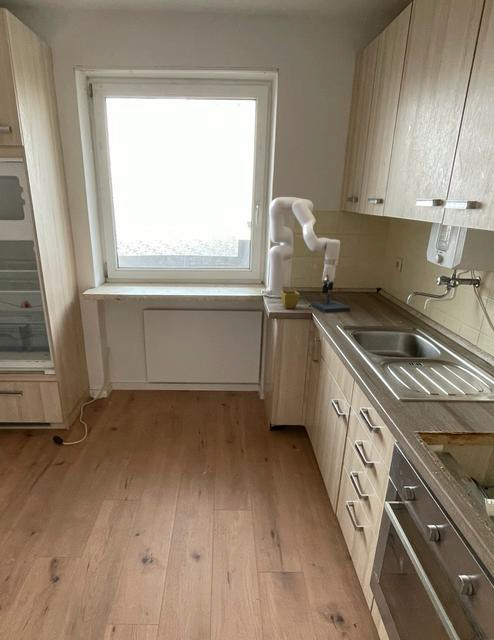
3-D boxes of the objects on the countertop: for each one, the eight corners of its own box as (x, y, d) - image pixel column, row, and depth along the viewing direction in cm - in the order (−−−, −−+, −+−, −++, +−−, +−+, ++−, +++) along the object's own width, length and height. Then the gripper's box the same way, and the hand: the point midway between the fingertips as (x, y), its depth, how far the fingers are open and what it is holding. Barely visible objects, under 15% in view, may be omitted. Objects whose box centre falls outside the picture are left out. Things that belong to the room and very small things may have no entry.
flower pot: (293, 305, 248) (295, 290, 245) (298, 309, 240) (299, 293, 237) (279, 305, 247) (280, 290, 243) (284, 309, 239) (285, 294, 235)
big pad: (324, 312, 234) (325, 309, 233) (311, 305, 248) (311, 302, 247) (349, 310, 238) (350, 307, 237) (335, 303, 252) (335, 300, 252)
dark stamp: (324, 308, 243) (326, 294, 240) (319, 305, 249) (320, 292, 246) (334, 307, 245) (336, 293, 242) (329, 304, 250) (330, 291, 247)
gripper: (328, 259, 246) (325, 287, 253) (320, 263, 232) (316, 293, 238) (341, 260, 243) (337, 289, 249) (333, 264, 229) (329, 295, 235)
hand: (327, 291), depth 244 cm, fingers open, 9 cm apart
